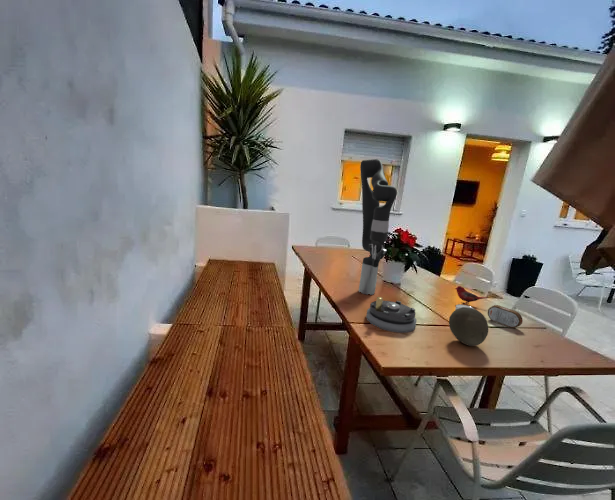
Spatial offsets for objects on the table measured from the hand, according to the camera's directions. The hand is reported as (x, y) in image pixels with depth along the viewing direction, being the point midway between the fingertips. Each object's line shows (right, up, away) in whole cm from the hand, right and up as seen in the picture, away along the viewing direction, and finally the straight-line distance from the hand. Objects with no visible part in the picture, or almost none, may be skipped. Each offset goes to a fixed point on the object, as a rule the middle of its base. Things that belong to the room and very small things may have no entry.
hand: (374, 266), depth 143 cm
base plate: (+7, -25, -2) cm, 26 cm away
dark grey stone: (+33, -31, -16) cm, 48 cm away
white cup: (+40, -28, -1) cm, 49 cm away
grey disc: (+7, -22, -2) cm, 23 cm away
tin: (+65, -29, +10) cm, 72 cm away
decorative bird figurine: (+62, -24, +35) cm, 75 cm away
